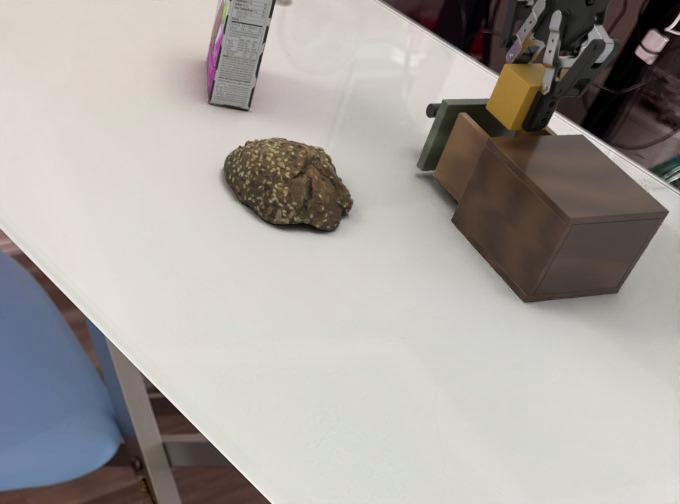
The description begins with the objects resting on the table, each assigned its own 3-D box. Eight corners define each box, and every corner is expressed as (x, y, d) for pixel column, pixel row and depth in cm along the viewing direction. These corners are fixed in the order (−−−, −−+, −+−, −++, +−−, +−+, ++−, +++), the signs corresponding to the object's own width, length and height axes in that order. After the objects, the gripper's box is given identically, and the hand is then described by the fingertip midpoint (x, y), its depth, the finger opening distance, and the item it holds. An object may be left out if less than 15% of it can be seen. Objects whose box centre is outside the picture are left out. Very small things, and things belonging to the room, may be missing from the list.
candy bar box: (203, 59, 113) (236, -101, 101) (245, 66, 114) (283, -92, 102) (205, 105, 106) (240, -62, 94) (250, 112, 107) (291, -52, 94)
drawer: (396, 143, 106) (421, 77, 100) (473, 141, 109) (501, 77, 104) (477, 233, 96) (510, 165, 91) (559, 227, 100) (595, 162, 94)
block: (485, 108, 97) (504, 63, 93) (520, 107, 98) (541, 63, 95) (509, 131, 94) (530, 86, 91) (545, 130, 96) (567, 85, 92)
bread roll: (210, 160, 99) (221, 113, 95) (321, 161, 102) (336, 115, 99) (252, 234, 91) (266, 186, 87) (370, 233, 95) (388, 186, 91)
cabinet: (450, 220, 99) (488, 137, 92) (540, 214, 103) (582, 133, 96) (524, 302, 91) (571, 218, 84) (618, 293, 95) (670, 211, 88)
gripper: (524, -112, 86) (447, 81, 99) (624, -44, 78) (526, 157, 91) (591, -108, 88) (507, 80, 101) (694, -41, 80) (589, 154, 93)
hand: (517, 115), depth 96 cm, fingers closed on block, 4 cm apart
